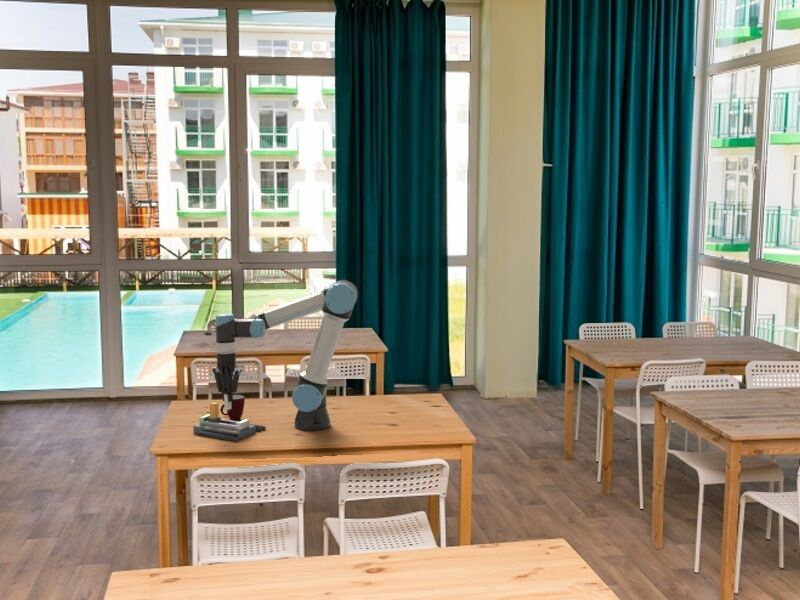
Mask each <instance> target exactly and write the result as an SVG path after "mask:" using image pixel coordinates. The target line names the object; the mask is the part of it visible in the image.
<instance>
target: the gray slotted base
mask: <svg viewBox="0 0 800 600" xmlns="http://www.w3.org/2000/svg"><path fill="white" fill-rule="evenodd" d="M209 417H210V413H209V414H205V415H202V416H200V417H199V423H198V424H194V425H193V426H192V427H193V434H196V433H197V434H196V435H198V431H206V432H211V433H217V434H223V435H229V436H235V437H238V441H241V440H242V439H245V438H247V437H249V435H250V436H252V435H254V434H256V433H257V431H256V426H254V425H255V424H252V425H250V424H251V423H250V419H247V418H245V419H243V420H239V421H232V420H230V419H221V423H217V422H211V421H208V418H209ZM251 434H252V435H251Z"/></svg>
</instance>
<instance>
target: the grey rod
mask: <svg viewBox="0 0 800 600" xmlns="http://www.w3.org/2000/svg"><path fill="white" fill-rule="evenodd" d="M262 431H263V430H262V428H261V427H257V426H256V432H262Z"/></svg>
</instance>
